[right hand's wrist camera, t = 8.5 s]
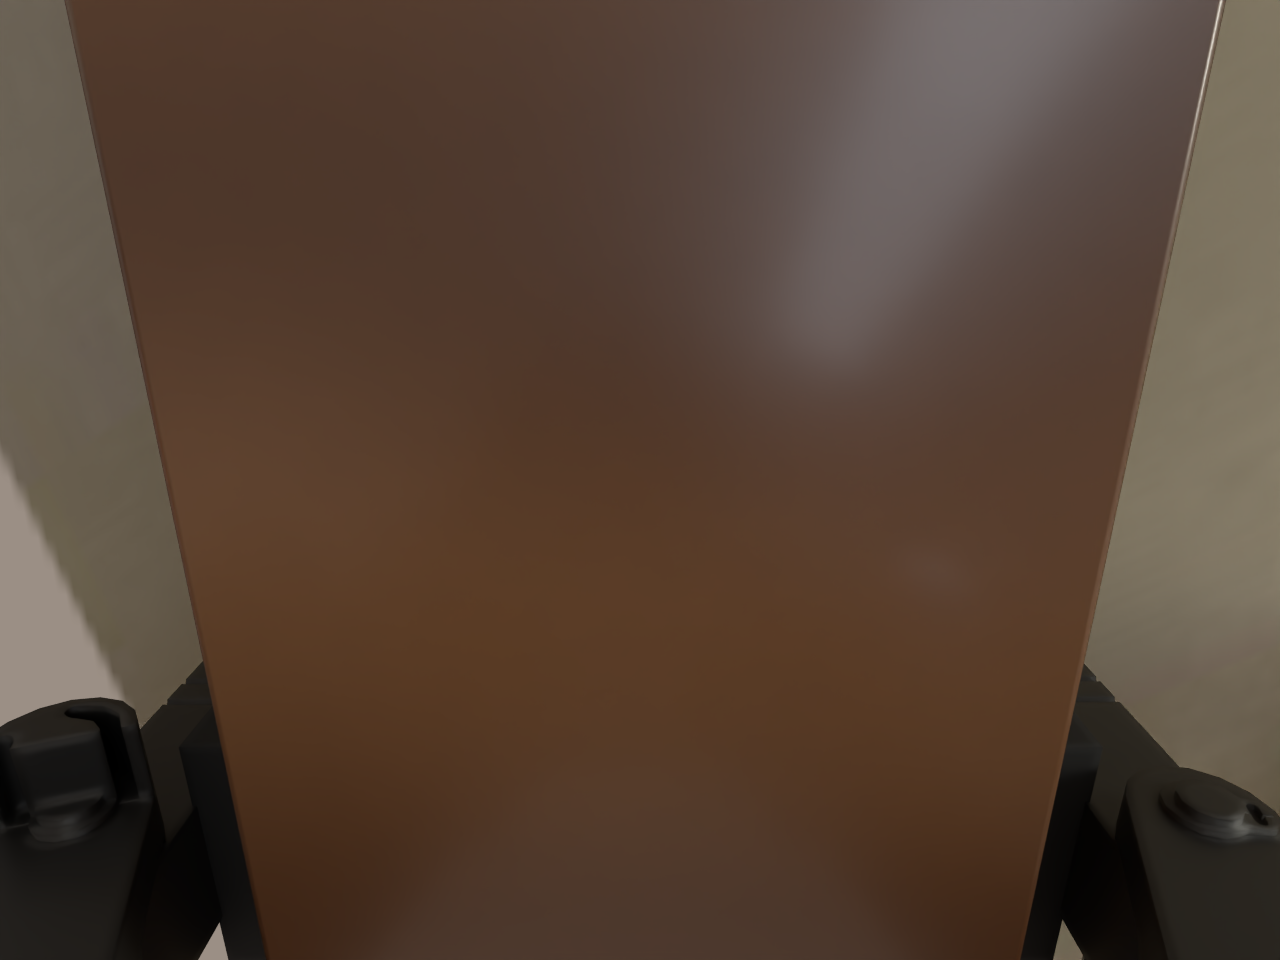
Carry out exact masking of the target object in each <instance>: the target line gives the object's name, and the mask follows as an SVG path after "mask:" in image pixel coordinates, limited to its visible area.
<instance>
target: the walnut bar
mask: <svg viewBox="0 0 1280 960" xmlns="http://www.w3.org/2000/svg"><path fill="white" fill-rule="evenodd" d="M1225 2H1226V0H65V5H66V9H67V14H68V19H69V24H70V28H71V33H72V38H73V43H74V48H75V52H76V57H77V62H78V67H79V71H80V76H81V81H82V86H83V90H84V95H85V100H86V105H87V109H88V114H89V119H90V124H91V128H92V133H93V138H94V143H95V148H96V152H97V157H98V162H99V167H100V171H101V176H102V181H103V186H104V190H105V195H106V200H107V205H108V209H109V214H110V219H111V224H112V228H113V233H114V238H115V243H116V248H117V252H118V257H119V262H120V267H121V271H122V276H123V281H124V286H125V290H126V295H127V300H128V305H129V309H130V314H131V319H132V324H133V329H134V333H135V338H136V343H137V348H138V352H139V357H140V362H141V367H142V371H143V376H144V381H145V386H146V390H147V395H148V400H149V405H150V409H151V414H152V419H153V424H154V429H155V433H156V438H157V443H158V448H159V452H160V457H161V462H162V467H163V471H164V476H165V481H166V486H167V490H168V495H169V500H170V505H171V510H172V514H173V519H174V524H175V529H176V533H177V538H178V543H179V548H180V552H181V557H182V562H183V567H184V571H185V576H186V581H187V586H188V590H189V595H190V600H191V605H192V610H193V614H194V619H195V624H196V629H197V633H198V638H199V643H200V648H201V652H202V657H203V662H204V667H205V671H206V676H207V681H208V686H209V691H210V695H211V700H212V705H213V710H214V714H215V719H216V724H217V729H218V733H219V738H220V743H221V748H222V752H223V757H224V762H225V767H226V771H227V776H228V781H229V786H230V791H231V795H232V800H233V805H234V810H235V814H236V819H237V824H238V829H239V833H240V838H241V843H242V848H243V852H244V857H245V862H246V867H247V872H248V876H249V881H250V886H251V891H252V895H253V900H254V905H255V910H256V914H257V919H258V924H259V929H260V933H261V938H262V943H263V948H264V952H265V957H266V960H1020V958H1021V954H1022V949H1023V944H1024V940H1025V935H1026V930H1027V926H1028V921H1029V916H1030V912H1031V907H1032V902H1033V898H1034V893H1035V888H1036V884H1037V879H1038V874H1039V870H1040V865H1041V860H1042V856H1043V851H1044V846H1045V842H1046V837H1047V832H1048V828H1049V823H1050V818H1051V814H1052V809H1053V804H1054V800H1055V795H1056V790H1057V786H1058V781H1059V776H1060V772H1061V767H1062V762H1063V758H1064V753H1065V748H1066V744H1067V739H1068V734H1069V730H1070V725H1071V720H1072V716H1073V711H1074V706H1075V702H1076V697H1077V692H1078V688H1079V683H1080V678H1081V674H1082V669H1083V664H1084V660H1085V655H1086V650H1087V646H1088V641H1089V636H1090V632H1091V627H1092V622H1093V618H1094V613H1095V608H1096V604H1097V599H1098V594H1099V590H1100V585H1101V580H1102V576H1103V571H1104V566H1105V562H1106V557H1107V553H1108V548H1109V543H1110V539H1111V534H1112V529H1113V525H1114V520H1115V515H1116V511H1117V506H1118V501H1119V497H1120V492H1121V487H1122V483H1123V478H1124V473H1125V469H1126V464H1127V459H1128V455H1129V450H1130V445H1131V441H1132V436H1133V431H1134V427H1135V422H1136V417H1137V413H1138V408H1139V403H1140V399H1141V394H1142V389H1143V385H1144V380H1145V375H1146V371H1147V366H1148V361H1149V357H1150V352H1151V347H1152V343H1153V338H1154V333H1155V329H1156V324H1157V319H1158V315H1159V310H1160V305H1161V301H1162V296H1163V291H1164V287H1165V282H1166V277H1167V273H1168V268H1169V263H1170V259H1171V254H1172V249H1173V245H1174V240H1175V235H1176V231H1177V226H1178V221H1179V217H1180V212H1181V207H1182V203H1183V198H1184V193H1185V189H1186V184H1187V179H1188V175H1189V170H1190V165H1191V161H1192V156H1193V151H1194V147H1195V142H1196V137H1197V133H1198V128H1199V124H1200V119H1201V114H1202V110H1203V105H1204V100H1205V96H1206V91H1207V86H1208V82H1209V77H1210V72H1211V68H1212V63H1213V58H1214V54H1215V49H1216V44H1217V40H1218V35H1219V30H1220V26H1221V21H1222V16H1223V12H1224V7H1225Z"/></svg>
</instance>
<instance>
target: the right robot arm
mask: <svg viewBox="0 0 1280 960" xmlns="http://www.w3.org/2000/svg"><path fill="white" fill-rule="evenodd" d="M1062 919H1063V921H1064V923H1065V924H1066V926H1067V928H1068V930H1069V931H1070V933H1071V935H1072V937H1073V938H1074V940H1075V942H1076V944H1077V945H1078V947H1079V949H1080V951H1081V952H1082V954H1083V957H1082V960H1280V817H1279V816H1278V815H1277V814H1276V812H1275V811H1274V810H1272V809H1271V808H1270V807H1268V806H1267V805H1266V804H1264V803H1263V802H1262V801H1260V800H1259V799H1258V798H1256V797H1255V796H1254V795H1252V794H1251V793H1250V792H1248V791H1246V790H1244V789H1242V788H1240V787H1238V786H1236V785H1233V784H1231V783H1229V782H1227V781H1225V780H1223V779H1221V778H1219V777H1216V776H1213V775H1209V774H1206V773H1203V772H1199V771H1196V770H1193V769H1189V768H1180V767H1179V766H1178V765H1177V764H1176V763H1175V762H1174V761H1173V760H1172V758H1171V757H1170V756H1169V755H1168V754H1167V753H1166V752H1165V751H1164V750H1163V749H1162V748H1161V747H1160V745H1159V744H1158V743H1157V742H1156V741H1155V740H1154V739H1153V738H1152V737H1151V736H1150V735H1149V734H1148V732H1147V731H1146V730H1145V729H1144V728H1143V727H1142V726H1141V725H1140V724H1139V723H1138V722H1137V721H1136V720H1135V718H1134V717H1133V716H1132V715H1131V714H1130V713H1129V712H1128V711H1127V710H1126V709H1125V708H1124V707H1123V705H1122V704H1121V703H1120V702H1115V697H1114V696H1113V695H1112V694H1111V692H1110V691H1109V690H1108V689H1107V688H1106V687H1105V686H1104V685H1103V684H1102V683H1101V682H1100V681H1096V676H1095V675H1094V674H1093V673H1092V672H1091V671H1090V670H1089V669H1088V668H1087V666H1086V665H1085V664H1083V669H1082V674H1081V678H1080V683H1079V688H1078V692H1077V697H1076V702H1075V706H1074V711H1073V716H1072V720H1071V725H1070V730H1069V734H1068V739H1067V744H1066V748H1065V753H1064V758H1063V762H1062V767H1061V772H1060V776H1059V781H1058V786H1057V790H1056V795H1055V800H1054V804H1053V809H1052V814H1051V818H1050V823H1049V828H1048V832H1047V837H1046V842H1045V846H1044V851H1043V856H1042V860H1041V865H1040V870H1039V874H1038V879H1037V884H1036V888H1035V893H1034V898H1033V902H1032V907H1031V912H1030V916H1029V921H1028V926H1027V930H1026V935H1025V940H1024V944H1023V949H1022V954H1021V958H1020V960H1053V957H1054V953H1055V948H1056V944H1057V940H1058V936H1059V931H1060V927H1061V923H1062ZM219 922H220V926H221V930H222V934H223V939H224V943H225V947H226V951H227V956H228V960H266V957H265V952H264V948H263V943H262V938H261V933H260V929H259V924H258V919H257V914H256V910H255V905H254V900H253V895H252V891H251V886H250V881H249V876H248V872H247V867H246V862H245V857H244V852H243V848H242V843H241V838H240V833H239V829H238V824H237V819H236V814H235V810H234V805H233V800H232V795H231V791H230V786H229V781H228V776H227V771H226V767H225V762H224V757H223V752H222V748H221V743H220V738H219V733H218V729H217V724H216V719H215V714H214V710H213V705H212V700H211V695H210V691H209V686H208V681H207V676H206V671H205V667H204V662H202V663H201V664H200V665H199V666H198V667H197V668H196V669H195V670H194V671H193V673H192V674H191V675H190V676H189V677H188V678H187V679H186V684H182V685H181V686H180V687H179V688H178V689H177V690H176V691H175V692H174V693H173V694H172V695H171V697H170V698H169V699H168V703H167V705H162V706H161V707H160V709H159V710H158V711H157V712H156V713H155V714H154V715H153V716H152V717H151V718H150V719H149V721H148V722H147V723H146V724H145V725H144V726H143V727H142V728H141V729H140V727H139V723H138V719H137V716H136V712H135V710H134V709H133V708H131V707H130V706H129V705H127V704H126V703H125V702H123V701H120V700H114V699H108V698H101V697H99V698H88V699H77V700H70V701H66V702H62V703H59V704H55V705H51V706H47V707H43V708H40V709H37V710H35V711H33V712H30V713H28V714H25V715H23V716H21V717H19V718H16V719H14V720H12V721H9V722H7V723H6V724H4V725H3V726H1V727H0V960H198V959H199V957H200V955H201V954H202V952H203V950H204V948H205V947H206V945H207V943H208V941H209V940H210V938H211V936H212V934H213V933H214V931H215V929H216V927H217V926H218V924H219Z"/></svg>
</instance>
